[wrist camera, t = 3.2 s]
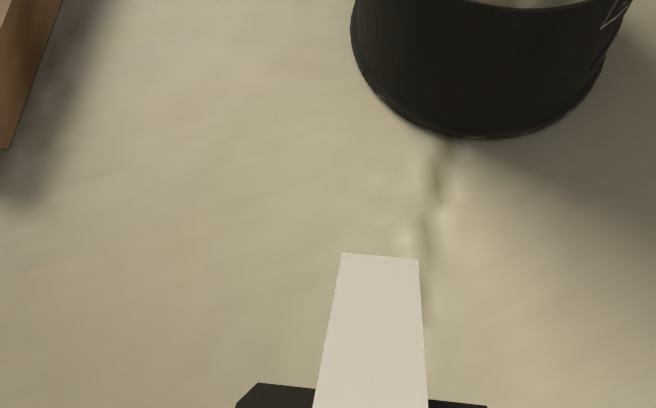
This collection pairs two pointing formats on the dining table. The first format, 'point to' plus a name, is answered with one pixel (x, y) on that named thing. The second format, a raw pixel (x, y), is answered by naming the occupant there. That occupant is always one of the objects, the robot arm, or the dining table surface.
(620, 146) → the dining table surface
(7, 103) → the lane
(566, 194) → the dining table surface
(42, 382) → the dining table surface
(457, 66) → the milk frother
